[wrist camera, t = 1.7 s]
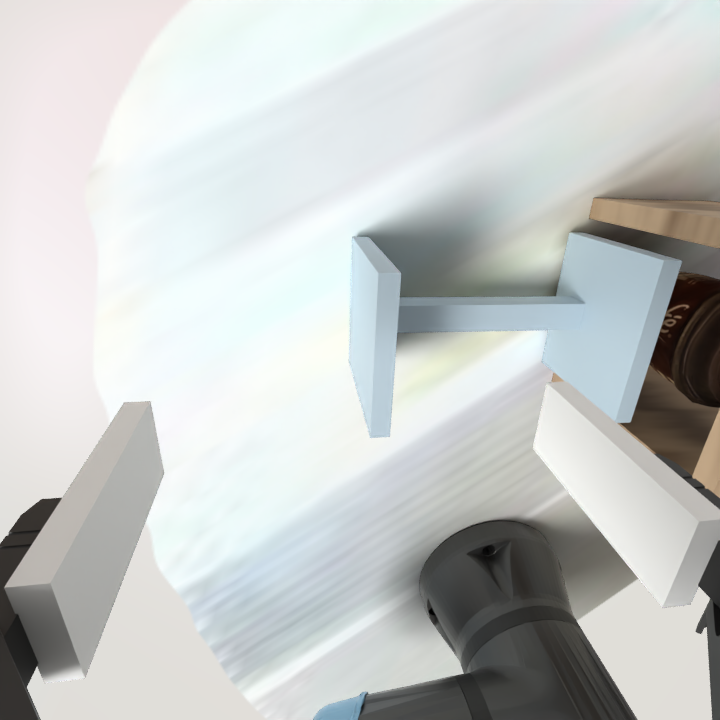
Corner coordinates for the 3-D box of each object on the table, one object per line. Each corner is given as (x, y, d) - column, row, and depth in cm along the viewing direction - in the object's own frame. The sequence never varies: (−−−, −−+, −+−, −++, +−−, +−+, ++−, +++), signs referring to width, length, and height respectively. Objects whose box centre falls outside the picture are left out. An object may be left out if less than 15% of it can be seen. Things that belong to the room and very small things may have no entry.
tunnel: (551, 384, 42) (701, 519, 27) (593, 198, 35) (826, 235, 20) (650, 380, 43) (848, 507, 28) (709, 200, 37) (1009, 237, 21)
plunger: (348, 367, 38) (369, 444, 28) (352, 229, 33) (378, 263, 23) (554, 361, 40) (640, 430, 30) (583, 232, 36) (696, 264, 26)
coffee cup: (690, 260, 39) (864, 309, 27) (644, 350, 42) (782, 429, 30) (602, 239, 37) (747, 280, 25) (561, 334, 40) (674, 411, 28)
